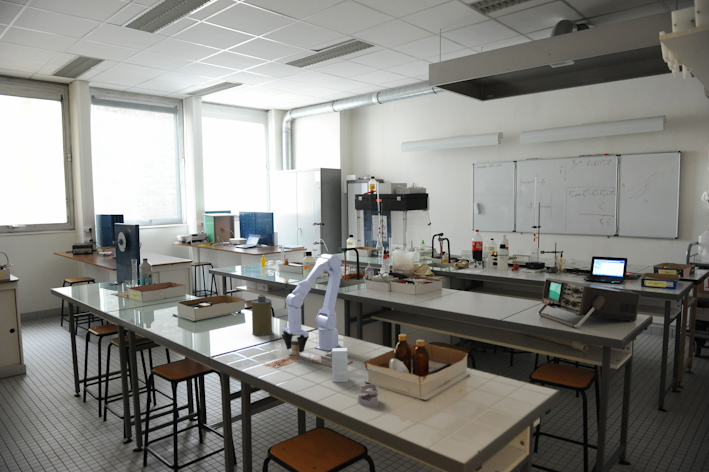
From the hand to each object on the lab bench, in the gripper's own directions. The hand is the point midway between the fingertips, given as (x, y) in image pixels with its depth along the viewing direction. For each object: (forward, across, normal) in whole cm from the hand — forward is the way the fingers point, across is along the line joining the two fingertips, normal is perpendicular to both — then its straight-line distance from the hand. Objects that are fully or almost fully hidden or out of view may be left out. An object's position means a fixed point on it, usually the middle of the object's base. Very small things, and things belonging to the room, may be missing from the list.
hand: (295, 350), depth 211 cm
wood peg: (+2, 0, 0) cm, 2 cm away
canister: (+2, -39, +17) cm, 43 cm away
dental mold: (+2, +56, -23) cm, 60 cm away
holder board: (+2, +20, +2) cm, 20 cm away
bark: (+3, +5, -10) cm, 11 cm away
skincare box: (+2, +35, -13) cm, 37 cm away
